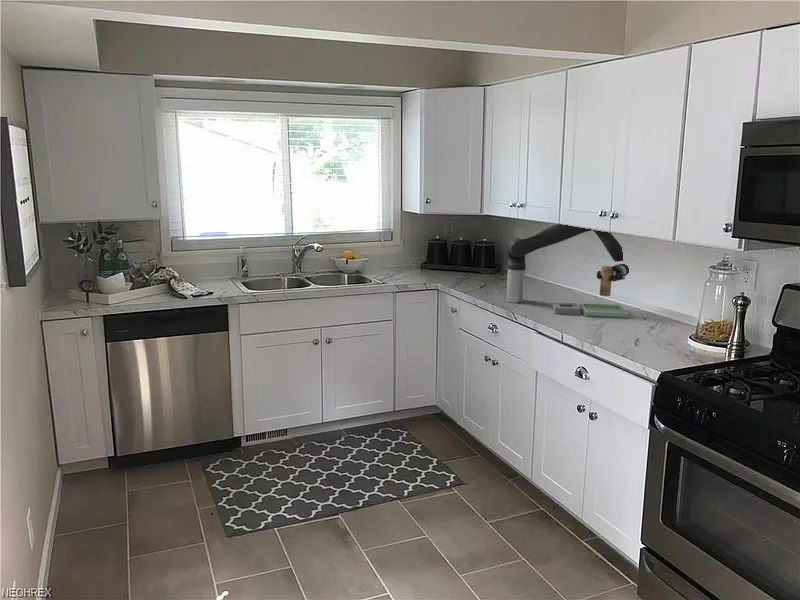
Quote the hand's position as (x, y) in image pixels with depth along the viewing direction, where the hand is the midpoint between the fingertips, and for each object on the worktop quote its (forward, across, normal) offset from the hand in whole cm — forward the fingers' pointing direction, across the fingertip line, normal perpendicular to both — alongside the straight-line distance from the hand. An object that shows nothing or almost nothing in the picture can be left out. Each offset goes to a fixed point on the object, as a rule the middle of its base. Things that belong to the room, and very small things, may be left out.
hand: (604, 277), depth 317 cm
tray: (-2, 0, +18) cm, 18 cm away
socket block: (+7, -16, +18) cm, 25 cm away
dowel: (-3, 0, +9) cm, 9 cm away
